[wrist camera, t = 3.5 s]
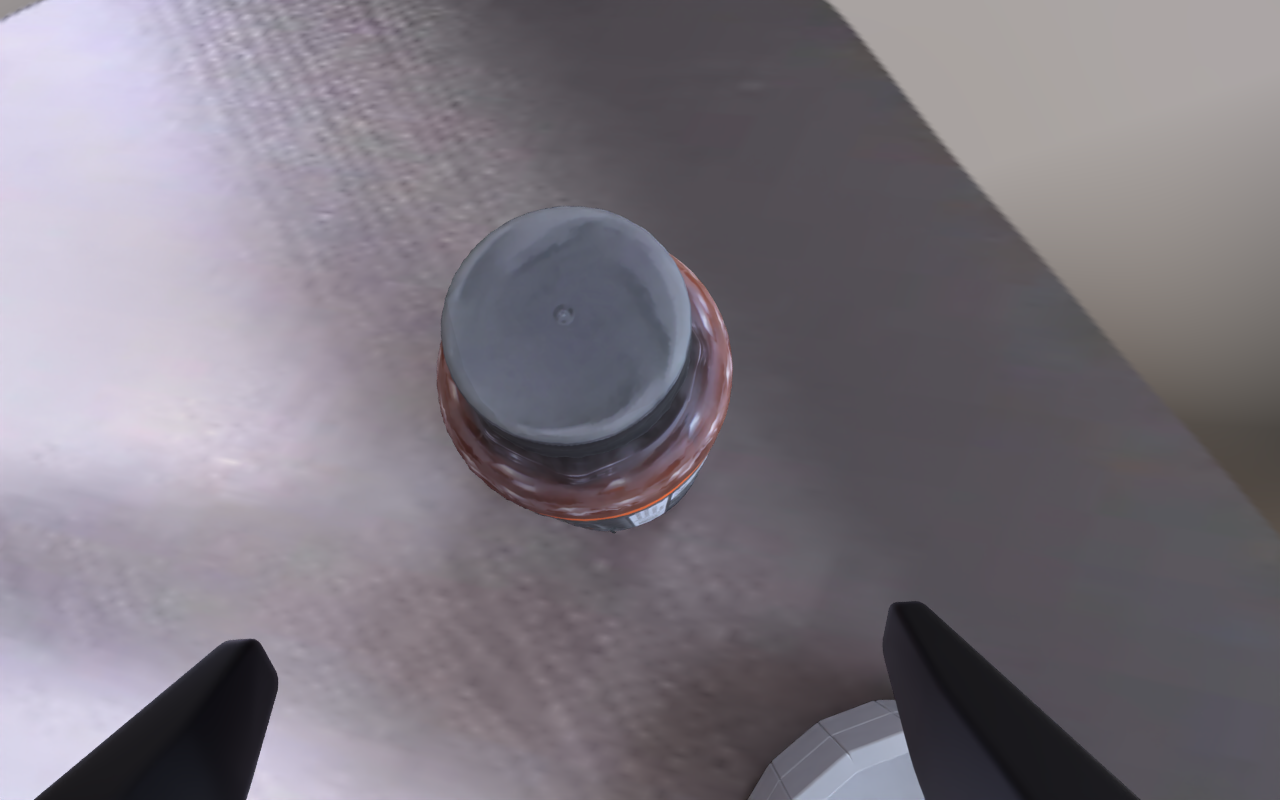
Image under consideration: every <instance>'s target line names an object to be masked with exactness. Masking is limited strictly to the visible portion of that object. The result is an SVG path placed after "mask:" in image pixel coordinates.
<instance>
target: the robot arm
mask: <svg viewBox="0 0 1280 800" xmlns="http://www.w3.org/2000/svg"><path fill="white" fill-rule="evenodd" d="M883 654H884V659H885V663H886V667H887V671H888V674H889V678H890V682H891V686H892V690H893V694H894V697H895V701H896V705H897V709H898V713H899V716H900V720H901V724H902V728H903V732H904V736H905V739H906V743H907V747H908V751H909V754H910V758H911V761H912V765H913V768H914V771H915V774H916V777H917V779H918V782H919V785H920V788H921V790H922V793H923V796H924V798H925V800H1140V799H1139V798H1138V797H1137V796H1136V795H1135V794H1134V793H1133V792H1131V791H1130V790H1129V789H1128V788H1127V787H1126V786H1125V785H1124V784H1123V783H1122V782H1120V781H1119V780H1118V779H1117V778H1116V777H1115V776H1114V775H1113V774H1112V773H1110V772H1109V771H1108V770H1107V769H1106V768H1105V767H1104V766H1103V765H1102V764H1101V763H1099V762H1098V761H1097V760H1096V759H1095V758H1094V757H1093V756H1092V755H1091V754H1090V753H1088V752H1087V751H1086V750H1085V749H1084V748H1083V747H1082V746H1081V745H1080V744H1078V743H1077V742H1076V741H1075V740H1074V739H1073V738H1072V737H1071V736H1070V735H1069V734H1067V733H1066V732H1065V731H1064V730H1063V729H1062V728H1061V727H1060V726H1059V725H1058V724H1056V723H1055V722H1054V721H1053V720H1052V719H1051V718H1050V717H1049V716H1048V715H1046V714H1045V713H1044V712H1043V711H1042V710H1041V709H1040V708H1039V707H1038V706H1037V705H1035V704H1034V703H1033V702H1032V701H1031V700H1030V699H1029V698H1028V697H1027V696H1026V695H1024V694H1023V693H1022V692H1021V691H1020V690H1019V689H1018V688H1017V687H1016V686H1014V685H1013V684H1012V683H1011V682H1010V681H1009V680H1008V679H1007V678H1006V677H1005V676H1003V675H1002V674H1001V673H1000V672H999V671H998V670H997V669H996V668H995V667H993V666H992V665H991V664H990V663H989V662H988V661H987V660H986V659H985V658H984V657H982V656H981V655H980V654H979V653H978V652H977V651H976V650H975V649H974V648H973V647H971V646H970V645H969V644H968V643H967V642H966V641H965V640H964V639H963V638H961V637H960V636H959V635H958V634H957V633H956V632H955V631H954V630H953V629H952V628H950V627H949V626H948V625H947V624H946V623H945V622H944V621H943V620H942V619H941V618H939V617H938V616H937V615H936V614H935V613H934V612H933V611H932V610H931V609H929V608H928V607H927V606H926V605H925V604H923V603H921V602H917V601H911V602H896V603H893V604H892V605H891V606H890V608H889V611H888V616H887V621H886V626H885V631H884V636H883ZM277 690H278V676H277V673H276V670H275V669H274V667H273V665H272V663H271V661H270V659H269V658H268V656H267V654H266V652H265V650H264V649H263V647H262V645H261V644H260V642H259V641H257V640H255V639H238V640H229V641H226V642H224V643H222V644H221V645H219V646H218V647H217V648H215V649H214V650H213V651H212V652H211V653H209V654H208V655H207V656H206V657H205V658H203V659H202V660H201V661H200V662H199V663H197V664H196V665H195V666H194V667H193V668H191V669H190V670H189V671H188V672H187V673H185V674H184V675H183V676H182V677H181V678H179V679H178V680H177V681H176V682H175V683H173V684H172V685H171V686H170V687H169V688H167V689H166V690H165V691H164V692H163V693H161V694H160V695H159V696H158V697H157V698H155V699H154V700H153V701H152V702H151V703H149V704H148V705H147V706H146V707H145V708H143V709H142V710H141V711H140V712H139V713H137V714H136V715H135V716H134V717H133V718H131V719H130V720H129V721H128V722H127V723H125V724H124V725H123V726H122V727H121V728H119V729H118V730H117V731H116V732H115V733H113V734H112V735H111V736H110V737H109V738H107V739H106V740H105V741H104V742H103V743H101V744H100V745H99V746H98V747H97V748H95V749H94V750H93V751H92V752H91V753H89V754H88V755H87V756H86V757H85V758H83V759H82V760H81V761H80V762H79V763H77V764H76V765H75V766H74V767H73V768H71V769H70V770H69V771H68V772H67V773H65V774H64V775H63V776H62V777H61V778H59V779H58V780H57V781H56V782H55V783H53V784H52V785H51V786H50V787H48V788H47V789H46V790H45V791H44V792H42V793H41V794H40V795H39V796H38V797H36V798H35V799H34V800H246V798H247V795H248V792H249V789H250V786H251V783H252V779H253V776H254V772H255V768H256V765H257V761H258V758H259V754H260V751H261V747H262V744H263V740H264V737H265V733H266V730H267V726H268V723H269V719H270V716H271V712H272V708H273V705H274V701H275V698H276V694H277Z"/></svg>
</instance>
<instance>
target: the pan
mask: <svg viewBox="0 0 1280 800" xmlns="http://www.w3.org/2000/svg"><path fill="white" fill-rule="evenodd" d="M748 800H925V798H924V796H923V793H922V790H921V788H920V785H919V782H918V779H917V777H916V774H915V771H914V768H913V765H912V761H911V758H910V754H909V751H908V747H907V743H906V739H905V736H904V732H903V728H902V724H901V720H900V716H899V713H898V709H897V705H896V701H895V700H877V701H876V702H875V701H871V702H868V703H866V704H863V705H860V706H858V707H855V708H852V709H850V710H847V711H845V712H842V713H839V714H837V715H834V716H831V717H829V718H826V719H823V720H821V721H819V724H818V723H817V724H815V725H814V726H812V727H811V728H810V729H809V730H808V731H807V732H805V733H804V734H803V735H802V736H801V737H799V738H798V739H797V740H796V741H795V742H794V743H792V744H791V745H790V746H789V747H788V748H787V749H785V750H784V751H783V752H782V753H781V754H779V755H778V756H777V757H776V758H775V759H774V760H773V761H772V763H770V764H769V765H768V767H767V768H766V770H765V772H764V773H763V775H762V777H761V778H760V780H759V782H758V783H757V785H756V787H755V788H754V790H753V792H752V793H751V795H750V797H749V798H748Z"/></svg>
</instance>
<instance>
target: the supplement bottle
mask: <svg viewBox="0 0 1280 800" xmlns="http://www.w3.org/2000/svg"><path fill="white" fill-rule="evenodd" d="M732 373H733V363H732V354H731V347H730V341H729V336H728V333H727V329H726V326H725V324H724V322H723V318H722V316H721V314H720V312H719V310H718V308H717V306H716V304H715V302H714V300H713V298H712V297H711V295H710V294H709V292H708V291H707V289H706V288H705V286H704V285H703V284H702V283H701V281H700V280H699V279H698V278H697V277H696V276H695V275H694V274H693V273H692V271H690V270H689V269H688V268H687V267H686V266H685V265H684V264H683V263H681V262H680V261H679V260H678V259H676V258H675V257H674V256H672V255H671V254H669V253H668V252H667V250H666V249H665V248H664V247H663V246H662V245H661V244H660V243H659V242H658V241H657V240H656V239H655V238H654V237H653V236H652V234H650V233H649V232H648V231H647V230H645V229H644V228H643V227H641V226H639V225H636V224H635V223H633V222H632V221H630V220H628V219H626V218H624V217H622V216H620V215H617V214H615V213H612V212H610V211H607V210H603V209H599V208H588V207H583V206H558V207H552V208H545V209H541V210H537V211H533V212H530V213H527V214H524V215H522V216H519V217H516V218H514V219H512V220H510V221H508V222H507V223H505V224H503V225H502V226H500V227H499V228H497V229H496V230H494V231H492V232H491V233H490V234H488V235H487V236H486V237H485V238H484V239H483V240H482V241H481V242H480V243H478V244H477V245H476V247H475V248H474V249H473V250H471V252H470V253H469V255H468V256H467V257H466V259H465V260H464V261H463V262H462V264H461V266H460V268H459V269H458V270H457V272H456V273H455V275H454V277H453V280H452V283H451V285H450V287H449V290H448V293H447V295H446V298H445V303H444V308H443V311H442V318H441V343H440V350H439V356H438V360H437V389H438V398H439V404H440V408H441V414H442V417H443V420H444V423H445V425H446V429H447V432H448V434H449V435H450V437H451V439H452V440H453V443H454V445H455V447H456V448H457V451H458V452H459V453H460V455H461V456H462V458H463V459H464V460H465V462H466V464H467V465H468V467H469V469H470V470H471V471H473V472H474V473H475V474H476V475H477V476H478V477H479V478H481V479H482V480H483V481H484V482H485V483H486V484H487V485H488V486H489V487H490V488H491V489H493V490H495V491H496V492H497V493H499V494H500V495H501V496H503V497H504V498H506V499H507V500H510V501H512V502H514V503H516V504H518V505H519V506H522V507H523V508H525V509H529V510H531V511H534V512H535V513H537V514H540V515H542V516H548V517H552V518H555V519H558V520H561V521H564V522H567V523H570V524H572V525H574V526H580V527H583V528H587V529H592V530H597V531H611V532H612V533H616V532H615V531H620V530H624V529H628V528H632V527H635V526H639V525H642V524H645V523H647V522H649V521H651V520H653V519H656V518H657V517H658V516H660V515H662V514H664V513H665V512H667V511H668V510H669V509H671V508H672V507H673V506H674V505H675V504H677V503H678V502H679V501H680V500H681V498H682V497H683V496H684V495H685V494H686V493H687V491H688V490H689V488H690V487H691V486H692V484H693V481H694V480H695V478H696V477H697V475H698V473H699V471H700V469H701V467H702V465H703V463H704V461H705V459H706V457H707V455H708V453H709V452H710V450H711V448H712V446H713V444H714V442H715V440H716V438H717V435H718V433H719V431H720V428H721V426H722V424H723V421H724V419H725V416H726V413H727V409H728V405H729V400H730V394H731V387H732Z"/></svg>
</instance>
